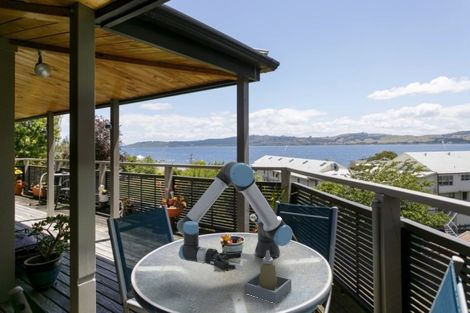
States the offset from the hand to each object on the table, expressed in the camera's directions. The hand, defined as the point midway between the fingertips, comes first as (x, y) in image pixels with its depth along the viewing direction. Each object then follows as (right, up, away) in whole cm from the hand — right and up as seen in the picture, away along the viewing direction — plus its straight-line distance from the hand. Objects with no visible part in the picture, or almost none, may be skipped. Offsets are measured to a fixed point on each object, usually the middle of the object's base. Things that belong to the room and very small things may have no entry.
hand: (248, 262), depth 144 cm
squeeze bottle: (+9, -12, -4) cm, 15 cm away
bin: (+9, -12, -3) cm, 15 cm away
